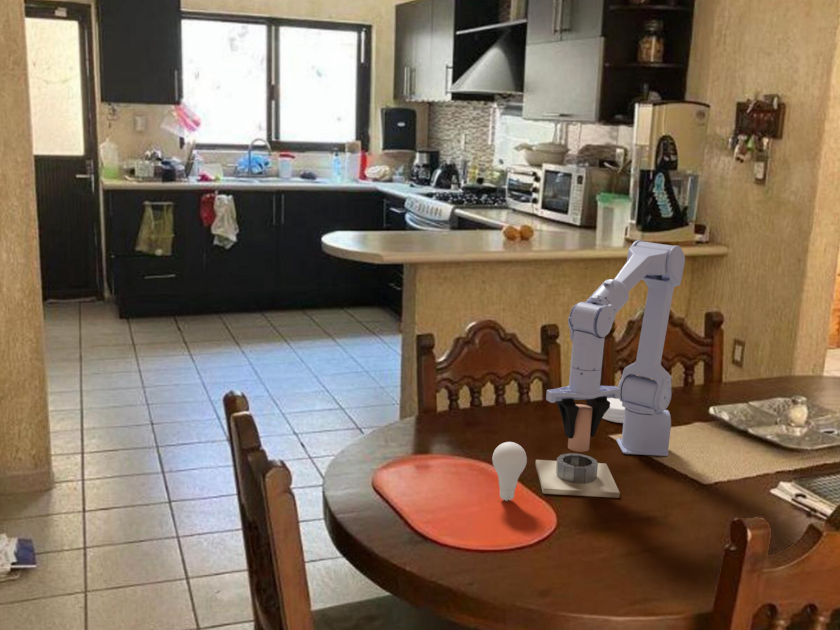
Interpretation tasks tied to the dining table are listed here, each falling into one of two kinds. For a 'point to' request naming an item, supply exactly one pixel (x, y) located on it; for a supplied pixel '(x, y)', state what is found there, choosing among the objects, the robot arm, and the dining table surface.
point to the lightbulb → (509, 467)
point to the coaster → (615, 411)
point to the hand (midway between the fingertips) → (579, 435)
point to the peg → (581, 429)
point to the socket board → (576, 476)
